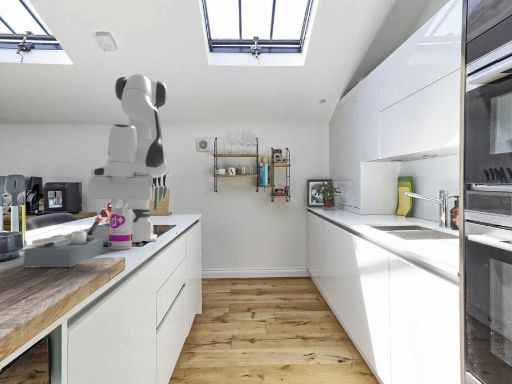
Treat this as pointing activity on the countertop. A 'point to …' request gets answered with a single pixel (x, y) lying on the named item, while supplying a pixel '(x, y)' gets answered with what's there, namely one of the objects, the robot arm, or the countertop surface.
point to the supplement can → (121, 230)
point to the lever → (94, 225)
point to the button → (78, 237)
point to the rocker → (48, 239)
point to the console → (62, 253)
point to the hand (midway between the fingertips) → (119, 213)
